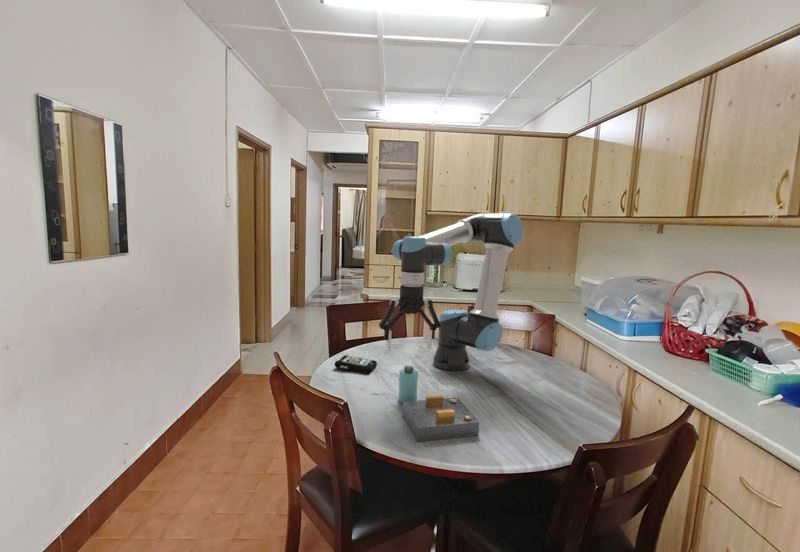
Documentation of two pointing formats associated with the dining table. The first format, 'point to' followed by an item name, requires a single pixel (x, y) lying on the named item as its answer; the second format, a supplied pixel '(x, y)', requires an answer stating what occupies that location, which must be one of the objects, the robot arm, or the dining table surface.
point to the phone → (356, 364)
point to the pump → (408, 384)
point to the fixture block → (439, 419)
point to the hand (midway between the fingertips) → (409, 349)
